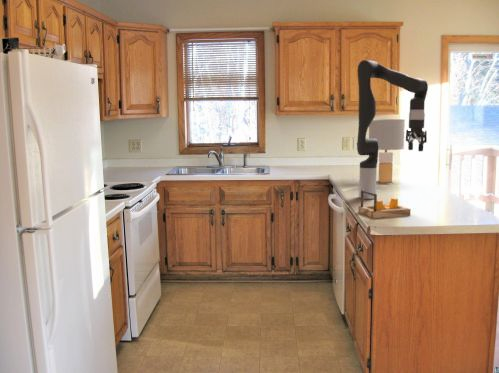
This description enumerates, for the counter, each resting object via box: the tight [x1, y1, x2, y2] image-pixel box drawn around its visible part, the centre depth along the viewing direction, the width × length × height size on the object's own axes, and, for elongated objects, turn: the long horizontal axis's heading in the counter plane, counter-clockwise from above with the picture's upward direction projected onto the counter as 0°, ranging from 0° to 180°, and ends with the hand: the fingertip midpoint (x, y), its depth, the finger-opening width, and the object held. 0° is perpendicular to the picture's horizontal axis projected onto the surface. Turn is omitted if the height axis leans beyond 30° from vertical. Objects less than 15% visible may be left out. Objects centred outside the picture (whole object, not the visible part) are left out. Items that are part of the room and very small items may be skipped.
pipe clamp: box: [376, 197, 399, 210], centre depth 249 cm, size 12×4×6 cm, turn 121°
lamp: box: [368, 118, 406, 184], centre depth 349 cm, size 23×23×42 cm
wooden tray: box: [358, 190, 412, 219], centre depth 249 cm, size 15×19×11 cm
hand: (415, 150), depth 268 cm, fingers open, 8 cm apart
